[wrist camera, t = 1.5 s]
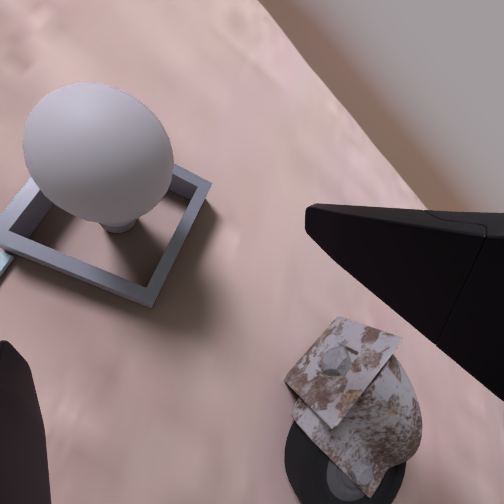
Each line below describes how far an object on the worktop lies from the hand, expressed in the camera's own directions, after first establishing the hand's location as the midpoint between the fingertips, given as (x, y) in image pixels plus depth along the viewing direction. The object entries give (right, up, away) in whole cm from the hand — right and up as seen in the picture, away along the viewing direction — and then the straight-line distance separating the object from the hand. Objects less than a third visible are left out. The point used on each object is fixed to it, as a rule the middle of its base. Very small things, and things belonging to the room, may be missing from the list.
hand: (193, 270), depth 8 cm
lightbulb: (-8, +3, +12) cm, 15 cm away
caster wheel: (+8, -12, +14) cm, 20 cm away
